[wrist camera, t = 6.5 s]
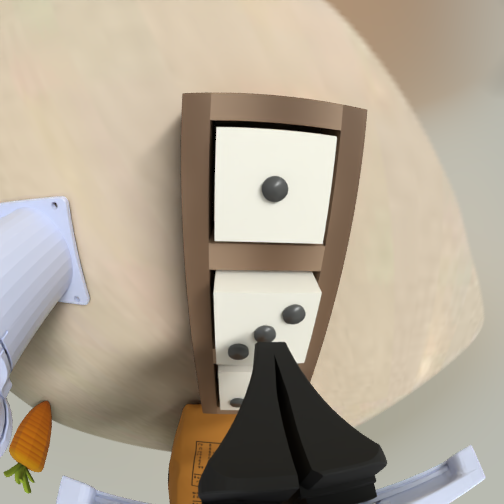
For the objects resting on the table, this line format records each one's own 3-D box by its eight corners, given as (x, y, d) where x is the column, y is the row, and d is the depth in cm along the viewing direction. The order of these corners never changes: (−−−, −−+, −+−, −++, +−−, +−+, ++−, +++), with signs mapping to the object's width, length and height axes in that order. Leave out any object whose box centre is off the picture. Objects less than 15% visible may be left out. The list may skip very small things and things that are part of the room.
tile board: (204, 385, 22) (202, 413, 20) (193, 99, 12) (182, 93, 10) (294, 384, 23) (299, 411, 20) (343, 110, 13) (367, 109, 10)
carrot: (27, 386, 24) (-8, 471, 10) (52, 394, 24) (19, 488, 11) (44, 407, 26) (16, 486, 13) (68, 415, 26) (43, 501, 13)
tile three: (218, 329, 17) (216, 367, 14) (216, 260, 15) (213, 294, 12) (295, 329, 18) (304, 365, 15) (307, 262, 15) (322, 295, 12)
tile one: (218, 218, 15) (214, 242, 12) (220, 126, 13) (216, 127, 10) (307, 221, 15) (323, 245, 13) (317, 133, 13) (338, 136, 10)
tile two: (221, 380, 21) (220, 412, 18) (219, 339, 19) (217, 374, 16) (280, 380, 22) (285, 410, 19) (288, 339, 19) (296, 372, 17)
